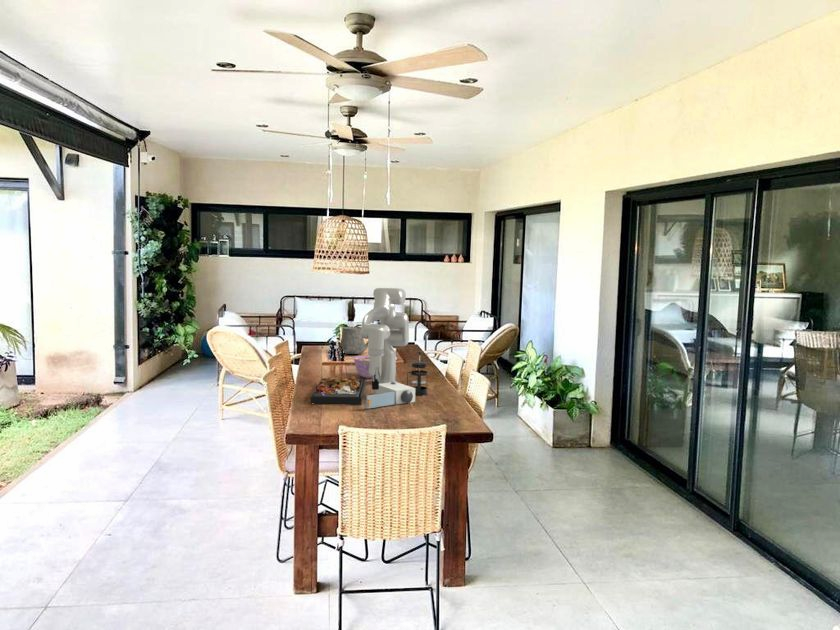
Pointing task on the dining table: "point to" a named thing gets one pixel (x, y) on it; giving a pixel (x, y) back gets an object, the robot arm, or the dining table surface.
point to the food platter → (339, 391)
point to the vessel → (352, 341)
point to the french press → (419, 377)
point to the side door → (381, 400)
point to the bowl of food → (363, 366)
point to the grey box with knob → (398, 391)
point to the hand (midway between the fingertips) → (375, 389)
